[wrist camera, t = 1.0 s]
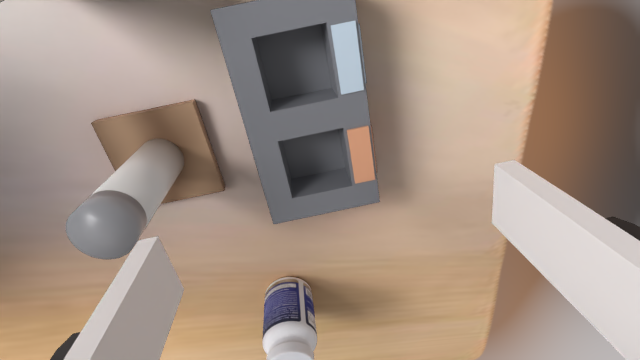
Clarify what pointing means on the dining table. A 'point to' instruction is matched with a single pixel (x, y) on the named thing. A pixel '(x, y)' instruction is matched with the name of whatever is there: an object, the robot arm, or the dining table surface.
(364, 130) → the socket box
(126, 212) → the plug
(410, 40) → the dining table surface
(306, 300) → the pill bottle
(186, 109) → the coaster
